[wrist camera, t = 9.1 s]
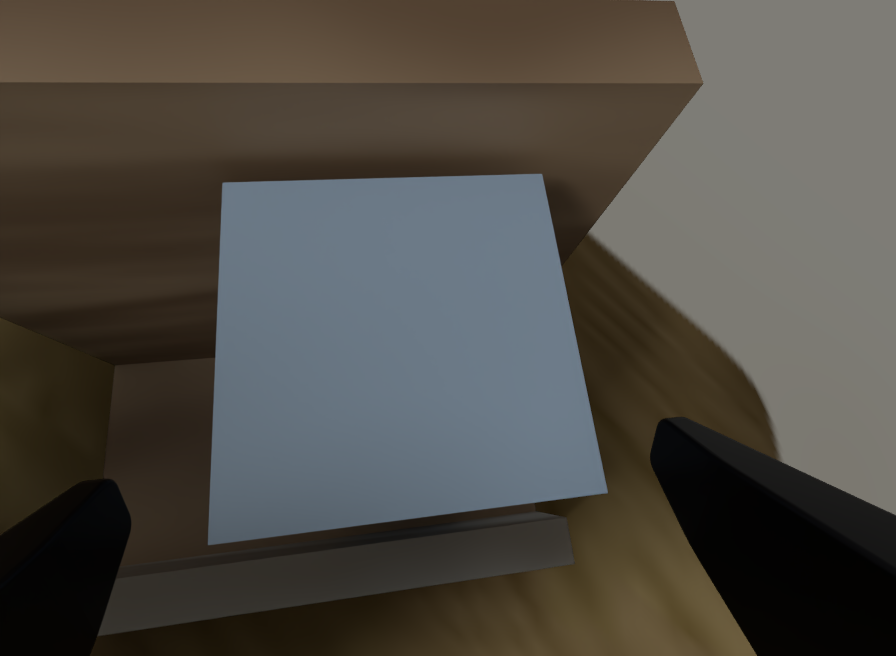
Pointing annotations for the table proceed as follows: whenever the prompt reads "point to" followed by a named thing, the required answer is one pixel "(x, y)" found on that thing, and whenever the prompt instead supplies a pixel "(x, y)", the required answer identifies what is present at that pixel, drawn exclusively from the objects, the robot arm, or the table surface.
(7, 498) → the table surface
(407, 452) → the blue-grey rectangular block
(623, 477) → the table surface
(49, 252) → the wooden display stand
